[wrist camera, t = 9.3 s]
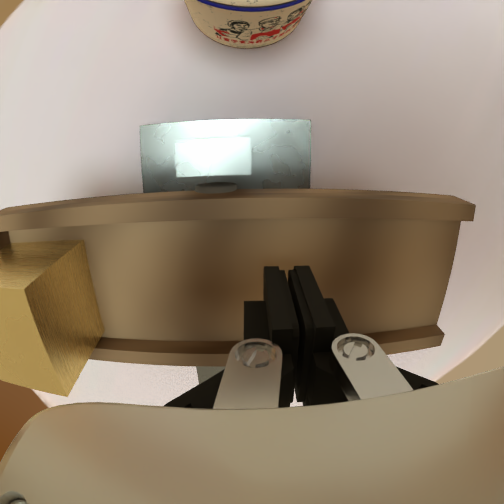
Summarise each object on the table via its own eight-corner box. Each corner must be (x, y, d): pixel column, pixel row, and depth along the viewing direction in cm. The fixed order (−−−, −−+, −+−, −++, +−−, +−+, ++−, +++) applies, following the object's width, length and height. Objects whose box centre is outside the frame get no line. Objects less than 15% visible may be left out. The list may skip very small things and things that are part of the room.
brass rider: (83, 239, 13) (23, 289, 8) (105, 330, 15) (67, 396, 10) (10, 243, 13) (-50, 283, 8) (34, 323, 15) (-9, 377, 10)
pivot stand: (306, 120, 22) (360, 111, 11) (300, 301, 27) (330, 392, 17) (145, 126, 21) (75, 124, 11) (163, 304, 27) (128, 394, 16)
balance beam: (433, 184, 15) (476, 200, 12) (411, 312, 18) (439, 348, 15) (25, 196, 15) (-17, 214, 11) (53, 317, 18) (25, 351, 14)
